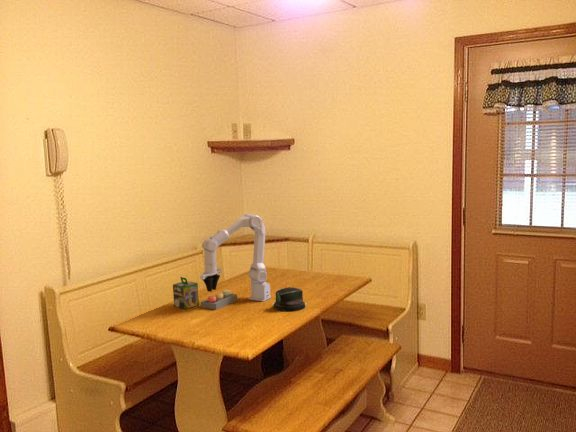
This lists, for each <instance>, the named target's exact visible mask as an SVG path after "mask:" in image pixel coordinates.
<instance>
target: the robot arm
mask: <svg viewBox="0 0 576 432" xmlns="http://www.w3.org/2000/svg"><path fill="white" fill-rule="evenodd" d="M263 220H264V219H262V217H261V216H259V215H256V214H253V213H245V214H244V215H241V217H239V218H238V219H237V220H236V221H235V222H233V223H232V224H231V225H230V226H228V227H227V228H226V229H218V230H217V232H216V233H214V234H213V235H210V236H209V238H205V239H204V240H203V242H202V243H201V247H202V249H203V254H204V255H203V256H204V257H203V258H204V259H203V260H204V271H203V273H202V274H200V275H199V279H200V280H202V281H203V283H204V284H205V287H206V290H207V292H210V293H212V291H216V290H217V287H218V286H217V285H218V282H219V279H220V278H221V275H220V274H222V268H217V267H218V266H217V249H218V248H219V246H221V245H222V244H224V243H225V242H227V240H229V237H230V236H231V235H233V234H234V233H236V232H237V231H239V230H241V229H242V228H250V229H251V230H252V231H253V232H254V239H253V240H254V241H253V255H252V258H253V259H252V263H251V264H250V268H249V271H248V277H249V278H250V291H251V292H250V293H251V294H250V295H251V296H250V297H248V298H247V299H248V300H251V301H256V302H257V301H259V302H265V301H267V300H269V299H271V298H272V296H271V285H270V283H269V282H266V281H267V279H268V275H267V274H268V273H267V270H266V269H267V268H266V266H265V264H264V259H265V244H266V230H267V229H266V227H265V224H264V221H263Z"/></svg>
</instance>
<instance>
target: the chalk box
mask: <svg viewBox="0 0 576 432" xmlns="http://www.w3.org/2000/svg"><path fill="white" fill-rule="evenodd" d="M179 278H180V281H181V282H176V283H174V284H172V291H173V295H172V296H173V304H174V305H173V307H175V308H179V309H182V310H187V309H191V308H193V307H194V308H195V307H197V306H200V299H199V286H198V285H199V284H198V282H194V281H189V280H188V279H187V278H186V277H182V276H180V277H179Z"/></svg>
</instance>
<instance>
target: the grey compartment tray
mask: <svg viewBox="0 0 576 432" xmlns="http://www.w3.org/2000/svg"><path fill="white" fill-rule="evenodd" d="M237 301H238V294H236V293H230V296H228V297H226V296H223V299H221V300H218V299H216V302H215V303H209V302H208V298H206V299H205V300H204V299H203V300H202V301H200V306H201V308H202V309H208V310H214V311H217V310H220V309H221V308H223V307H225V306H227V305H230V304H232V303H234V302H237Z"/></svg>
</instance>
